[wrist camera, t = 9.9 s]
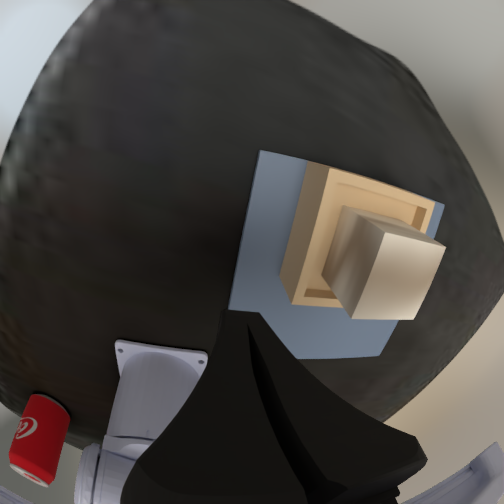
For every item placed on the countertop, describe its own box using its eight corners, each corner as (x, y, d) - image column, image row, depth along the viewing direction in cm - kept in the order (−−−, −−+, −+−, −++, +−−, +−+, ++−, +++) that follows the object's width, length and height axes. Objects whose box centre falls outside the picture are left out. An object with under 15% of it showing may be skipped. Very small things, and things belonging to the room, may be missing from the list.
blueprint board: (376, 351, 25) (394, 379, 21) (219, 350, 22) (222, 388, 18) (440, 203, 19) (473, 218, 15) (259, 149, 16) (272, 154, 12)
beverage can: (25, 385, 22) (-4, 455, 12) (61, 396, 23) (36, 476, 13) (43, 412, 25) (22, 477, 14) (77, 422, 26) (61, 494, 15)
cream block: (377, 281, 17) (413, 319, 13) (321, 275, 17) (351, 318, 13) (400, 219, 16) (445, 247, 12) (342, 204, 15) (385, 232, 11)
